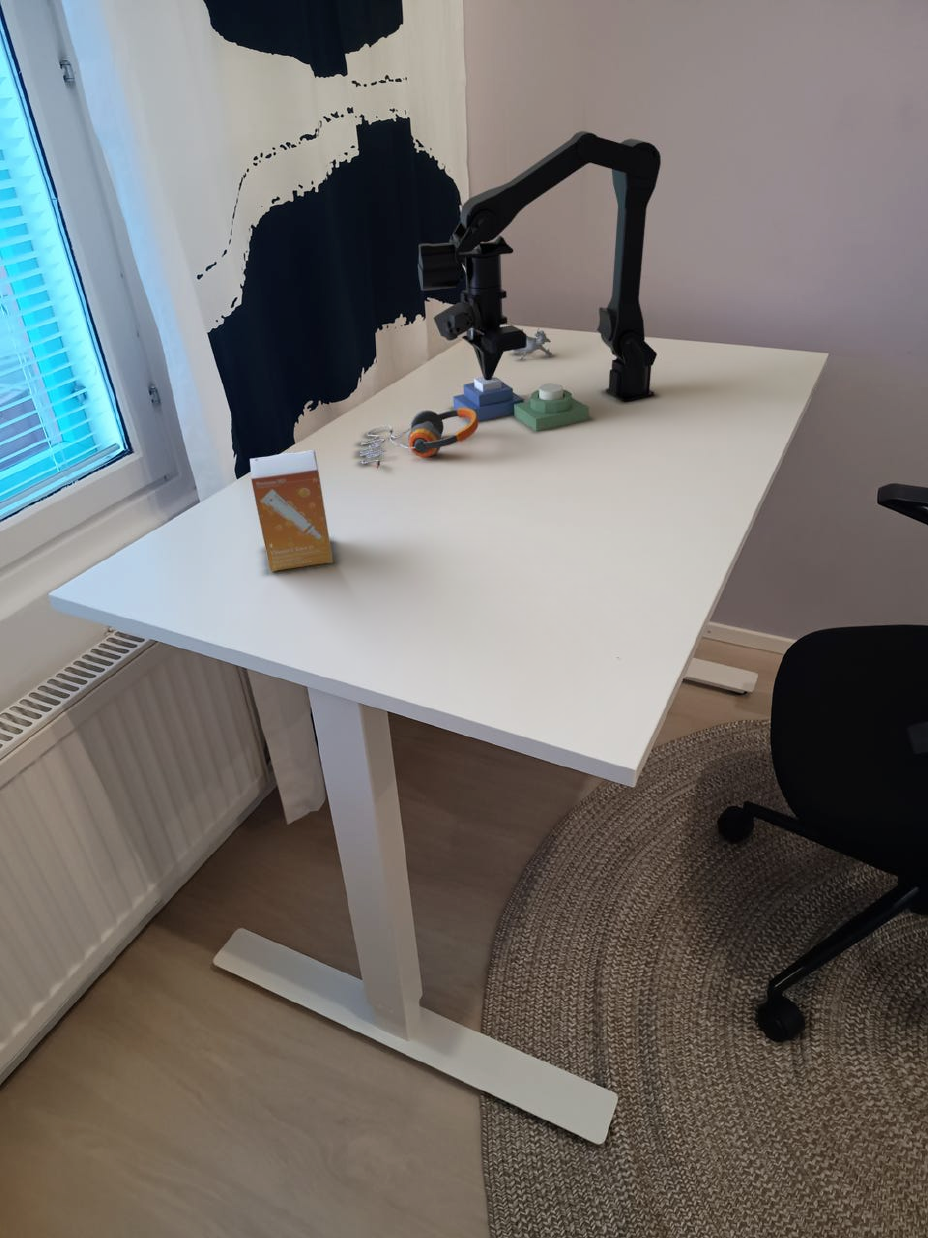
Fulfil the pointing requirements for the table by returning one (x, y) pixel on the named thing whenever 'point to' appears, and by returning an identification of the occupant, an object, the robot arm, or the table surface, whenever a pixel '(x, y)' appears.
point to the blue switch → (488, 401)
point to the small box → (291, 510)
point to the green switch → (550, 411)
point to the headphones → (427, 433)
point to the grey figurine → (535, 344)
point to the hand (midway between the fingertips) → (487, 379)
